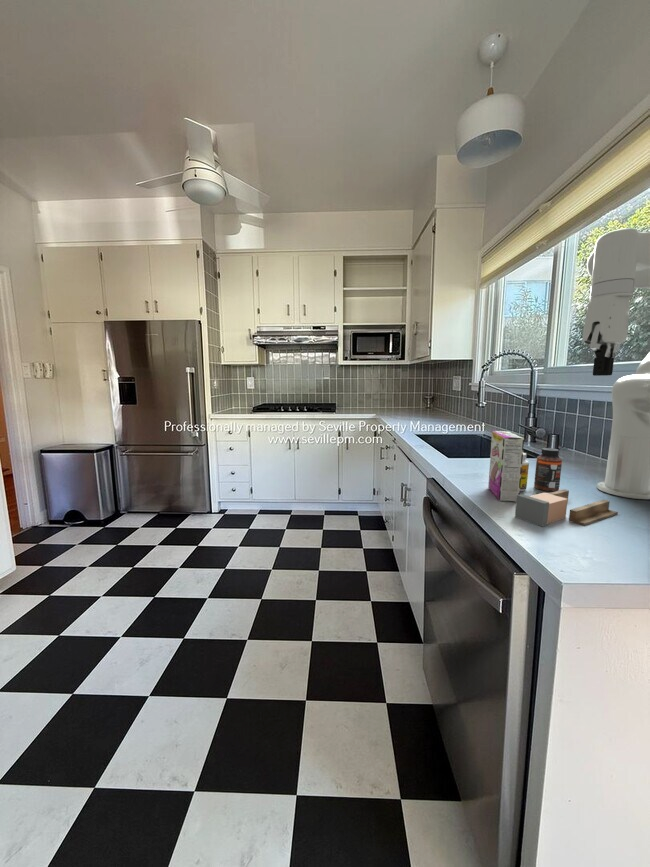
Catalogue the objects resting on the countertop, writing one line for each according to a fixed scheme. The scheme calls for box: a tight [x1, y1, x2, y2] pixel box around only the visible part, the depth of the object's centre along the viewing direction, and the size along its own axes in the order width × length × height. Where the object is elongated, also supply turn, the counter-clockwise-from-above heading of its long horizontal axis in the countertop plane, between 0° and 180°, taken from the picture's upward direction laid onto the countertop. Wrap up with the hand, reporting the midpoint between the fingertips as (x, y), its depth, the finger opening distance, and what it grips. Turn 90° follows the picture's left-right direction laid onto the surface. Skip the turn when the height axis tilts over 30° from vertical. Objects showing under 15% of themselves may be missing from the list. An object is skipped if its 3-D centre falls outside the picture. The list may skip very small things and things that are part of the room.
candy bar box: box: [487, 430, 525, 503], centre depth 91 cm, size 11×5×16 cm, turn 169°
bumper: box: [514, 493, 549, 528], centre depth 74 cm, size 2×6×5 cm, turn 28°
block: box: [529, 492, 569, 524], centre depth 77 cm, size 8×5×4 cm, turn 118°
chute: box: [547, 489, 618, 526], centre depth 81 cm, size 14×13×2 cm
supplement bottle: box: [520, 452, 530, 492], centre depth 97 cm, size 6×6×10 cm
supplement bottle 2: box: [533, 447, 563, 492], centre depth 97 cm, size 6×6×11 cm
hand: (602, 375), depth 81 cm, fingers closed
